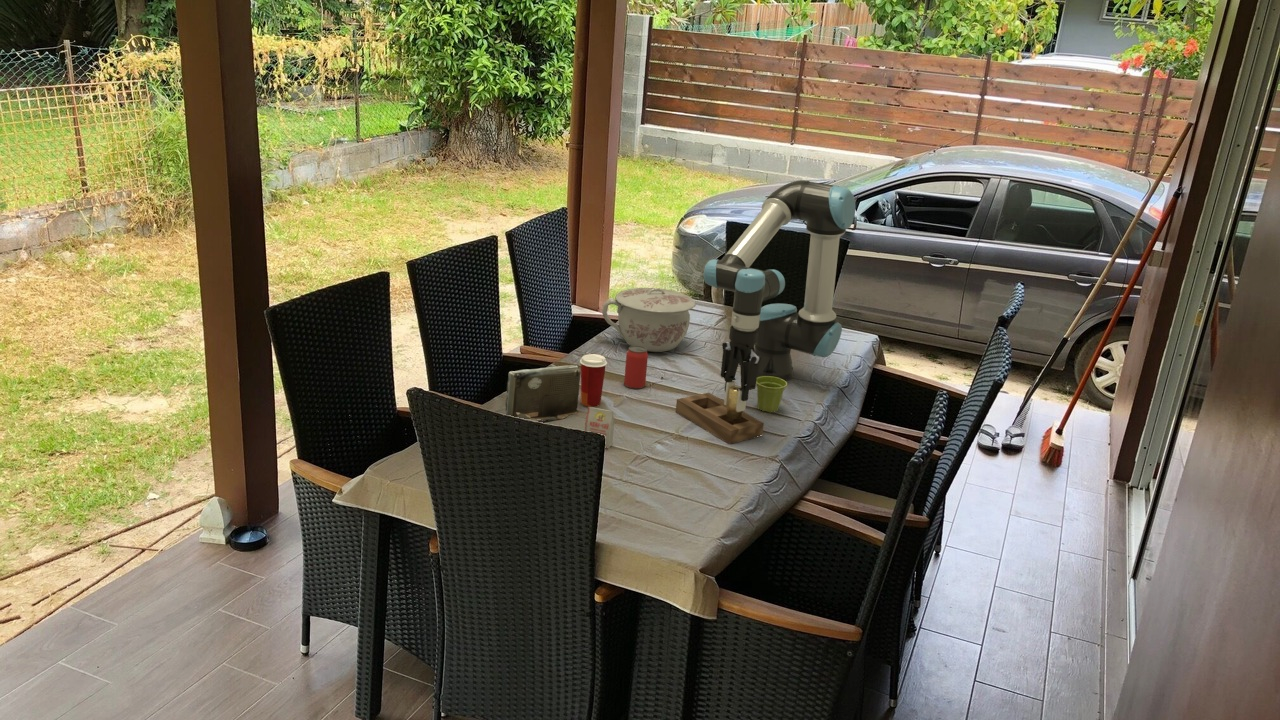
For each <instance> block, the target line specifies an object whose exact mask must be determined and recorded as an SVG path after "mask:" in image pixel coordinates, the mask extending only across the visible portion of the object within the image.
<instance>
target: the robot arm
mask: <svg viewBox="0 0 1280 720" xmlns="http://www.w3.org/2000/svg"><path fill="white" fill-rule="evenodd" d="M854 196H855V195H854V194H853V193H852V191H851V190H850V189H848V188H847V187H843V186H839V185H836V184H835V185H834V184H828V183H821V182H815V181H811V180H810V181H809V180H805V179H803V180H802V179H801V180H800V179H799V180H796V181H792V182H791V181H790V182H788V183H787V184H784V185H782V186H780V187H779V188H777V189H775V190H774V191H773V192H771V193H770V194H769V195H768V196H767V197H766V198H765V200H764V201H763V203H762V205H761V210H760V212H759V213H758V214H757V215H756V216H755V218H754V219H753V220H752V221H751V223H750V224H749V225H748V227H747V228H746V229H745V230H744V231H743V233H742V234H741V235H740V236H739V237H738V239H737V240H736V241H735V243H734V244H733V245H732V246H731V247H730V248H729V250H728V251H727V252H726V254H725V255H723V257H722V258H721V259H710V260H708V262H706V264H705V267H704V270H703V280H704V283H705V284H707V285H708V286H710V287H714V288H716V289H718V290H719V289H721V290H723V291H724V290H725V291H728V292H729V291H730V292H733V293H734V295H733V304H732V310H731V311H732V312H731V322H730V325H731V326H730V328H729V334H728V336H729V337H728V339H729V340H730V341H726V342H723V343H722V344H721V346H722V359H721V367H720V377H721V378H724V381H725V383H724V400H723V401H724V405H728V398H729V390H730V387H732V386H737V385H736V383H737V381H736V380H737V378H736V377H735V376H736V375H737V371H738V367H740V368H739V369H740V387H741V388H739V390H738V398H737V406H736V411H737V412H739V411H743V412H745V411H746V405H747V401H748V400H749V395H750V393H749V392H750V391H751V390H752V391H753V390H755V389H756V388H757V386H756V380H757V378H758V377H762V376H772V377H777V378H780V379H783V380H787V381H789V379H790V380H791V379H792V378H793V377H792V376H794V367H793V362H792V355H791V350H794V351H797V352H801V353H804V354H808V355H811V356H813V357H820V358H827V357H829V356H831V355H832V354H833V352H834V351H835V349H836V348H837V346H838V344H839V342H840V338H841V335H842V332H843V327H842V324H841V323H840V322H838V321H836V320H837V313H836V312H835V311H834V310H833V303H834V302H833V301H834V295H835V294H834V293H835V285H836V275H837V264H838V257H839V256H838V255H839V246H840V238H841V236H843V235H845V233H846V231H847V230H848V229H850V227H851V226H852V225H853V222H854V218H855V216H856V215H855V214H856V199H855V197H854ZM791 220H799V221H803V222H804V221H805V222H806V227H805V228H806V229H805V230H806V232H807V233H809V234H810V241H809V251H808V261H807V262H808V263H807V272H806V281H805V293H804V303H803V307H802V308H800V309H799V311H798V309H797V306H795V305H794V304H790V303H789V304H788V303H770V304H766V305H764V306H762V304H763V302H766V301H769V300H771V299H774V298H776V297H777V296H778V295H780V294H781V293H783V292H784V290H785V286H786V280H785V277H784V275H783V274H782V273H781V272H780V271H779V270H777V269H765V270H762V269H758V268H753V267H751V266H752V265H753V263H754V262H755V260H756V259H757V258H758V257H759V255H760V254H761V253H762V251H763V250H764V249H765V248H766V247H767V246H768V244H769V243H770V241H772V239H773V237H774V236H775V235H776V234H777V232H778V231H780V229H781V227H782V226H786V225H788V224H789V223H790V222H791ZM797 311H798V312H797Z"/></svg>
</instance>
